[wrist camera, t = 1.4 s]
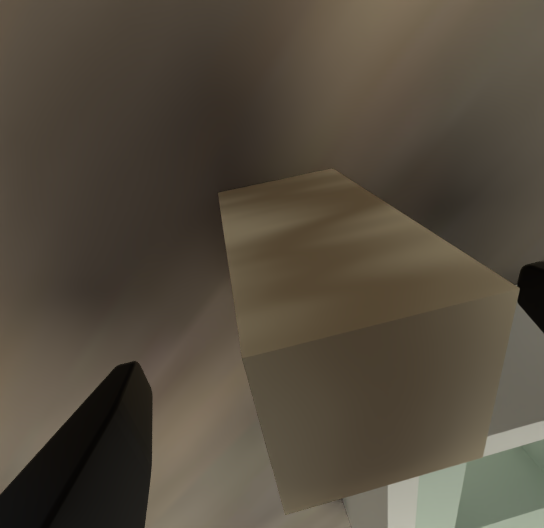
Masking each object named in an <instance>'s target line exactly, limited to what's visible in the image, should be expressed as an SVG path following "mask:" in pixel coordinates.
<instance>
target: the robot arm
mask: <svg viewBox="0 0 544 528" xmlns="http://www.w3.org/2000/svg"><path fill="white" fill-rule="evenodd" d="M517 287H519V288H520V291H519V295H518V300H517V302H518V304H519V305H520V307H521V308H522V309H523V310H524V311H525V312H526V314H527V315H528V316H529V317H530V318H531V319H532V321H533V322H534V323H535V324H536V325H537V326H538V327H539V329H540V330H541V331H542V332H543V333H544V261H540V262H535V263H531V264H527V265H525V266H523V267H522V269H521V270H520V274H519V279H518V284H517ZM151 467H152V390H151V387H150V385H149V383H148V381H147V378H146V376H145V374H144V372H143V370H142V368H141V366H140V364H139V363H138V362H136V361H132V362H128V363H124V364H120V365H118V366H116V367H115V368H114V369H113V370H112V371H111V372H110V374H109V375H108V376H107V377H106V378H105V379H104V380H103V381H102V382H101V384H100V385H99V386H98V387H97V388H96V389H95V390H94V391H93V392H92V394H91V395H90V396H89V397H88V398H87V399H86V400H85V401H84V402H83V403H82V405H81V406H80V407H79V408H78V409H77V410H76V411H75V412H74V413H73V415H72V416H71V417H70V418H69V419H68V420H67V421H66V422H65V423H64V425H63V426H62V427H61V428H60V429H59V430H58V431H57V432H56V433H55V434H54V436H53V437H52V438H51V439H50V440H49V441H48V442H47V443H46V444H45V446H44V447H43V448H42V449H41V450H40V451H39V452H38V453H37V454H36V456H35V457H34V458H33V459H32V460H31V461H30V462H29V463H28V464H27V465H26V467H25V468H24V469H23V470H22V471H21V472H20V473H19V474H18V475H17V477H16V478H15V479H14V480H13V481H12V482H11V483H10V484H9V485H8V487H7V488H6V489H5V490H4V491H3V492H2V493H1V494H0V528H145V520H146V511H147V503H148V495H149V487H150V478H151Z"/></svg>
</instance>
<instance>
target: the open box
mask: <svg viewBox="0 0 544 528" xmlns="http://www.w3.org/2000/svg"><path fill="white" fill-rule="evenodd" d="M515 286H517V285H515ZM343 504H344V507H345V510H346V513H347V516H348V519H349V522H350V525H351V528H544V333H543V332H542V331H541V330H540V329H539V327H538V326H537V325H536V324H535V323H534V322H533V321H532V319H531V318H530V317H529V316H528V315H527V314H526V312H525V311H524V310H523V309H522V308H521V307H520V305H519V304H518V302H517V304H516V309H515V313H514V318H513V322H512V327H511V331H510V336H509V340H508V345H507V349H506V354H505V359H504V363H503V368H502V372H501V377H500V381H499V386H498V390H497V395H496V399H495V404H494V408H493V413H492V418H491V422H490V427H489V431H488V436H487V440H486V445H485V449H484V454H483V458H479V459H476V460H472V461H469V462H466V463H462V464H459V465H455V466H452V467H448V468H445V469H442V470H438V471H435V472H431V473H428V474H424V475H421V476H418V477H414V478H411V479H407V480H404V481H400V482H397V483H394V484H390V485H387V486H383V487H380V488H377V489H373V490H370V491H366V492H363V493H359V494H356V495H353V496H349V497H346V498H343Z"/></svg>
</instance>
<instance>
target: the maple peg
mask: <svg viewBox="0 0 544 528" xmlns="http://www.w3.org/2000/svg"><path fill="white" fill-rule="evenodd" d="M218 197H219V204H220V211H221V218H222V225H223V232H224V238H225V245H226V252H227V259H228V266H229V273H230V280H231V286H232V293H233V300H234V307H235V314H236V321H237V327H238V334H239V341H240V348H241V355H242V360H243V364H244V367H245V371H246V375H247V378H248V382H249V386H250V389H251V393H252V396H253V400H254V404H255V407H256V411H257V415H258V418H259V422H260V425H261V429H262V433H263V436H264V440H265V444H266V447H267V451H268V454H269V458H270V462H271V465H272V469H273V473H274V476H275V480H276V483H277V487H278V491H279V494H280V498H281V502H282V505H283V509H284V512H285V515H287V514H291V513H294V512H298V511H301V510H305V509H308V508H311V507H315V506H318V505H322V504H325V503H329V502H332V501H335V500H339V499H342V498H346V497H349V496H353V495H356V494H359V493H363V492H366V491H370V490H373V489H377V488H380V487H383V486H387V485H390V484H394V483H397V482H400V481H404V480H407V479H411V478H414V477H418V476H421V475H424V474H428V473H431V472H435V471H438V470H442V469H445V468H448V467H452V466H455V465H459V464H462V463H466V462H469V461H472V460H476V459H479V458H483V454H484V449H485V445H486V440H487V436H488V431H489V427H490V422H491V418H492V413H493V408H494V404H495V399H496V395H497V390H498V386H499V381H500V377H501V372H502V368H503V363H504V359H505V354H506V349H507V345H508V340H509V336H510V331H511V327H512V322H513V318H514V313H515V309H516V304H517V300H518V295H519V291H520V288H519V287H517V286H515V285H514V284H512V283H511V282H509V281H508V280H506V279H504V278H503V277H501V276H500V275H498V274H497V273H495V272H494V271H492V270H490V269H489V268H487V267H486V266H484V265H483V264H481V263H480V262H478V261H476V260H475V259H473V258H472V257H470V256H469V255H467V254H466V253H464V252H462V251H461V250H459V249H458V248H456V247H455V246H453V245H451V244H450V243H448V242H447V241H445V240H444V239H442V238H441V237H439V236H437V235H436V234H434V233H433V232H431V231H430V230H428V229H427V228H425V227H423V226H422V225H420V224H419V223H417V222H416V221H414V220H412V219H411V218H409V217H408V216H406V215H405V214H403V213H402V212H400V211H398V210H397V209H395V208H394V207H392V206H391V205H389V204H388V203H386V202H384V201H383V200H381V199H380V198H378V197H377V196H375V195H373V194H372V193H370V192H369V191H367V190H366V189H364V188H363V187H361V186H359V185H358V184H356V183H355V182H353V181H352V180H350V179H349V178H347V177H345V176H344V175H342V174H341V173H339V172H338V171H336V170H335V169H333V168H332V169H327V170H322V171H318V172H313V173H308V174H303V175H299V176H294V177H289V178H285V179H280V180H275V181H270V182H266V183H261V184H256V185H252V186H247V187H242V188H237V189H233V190H228V191H223V192H218Z"/></svg>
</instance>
